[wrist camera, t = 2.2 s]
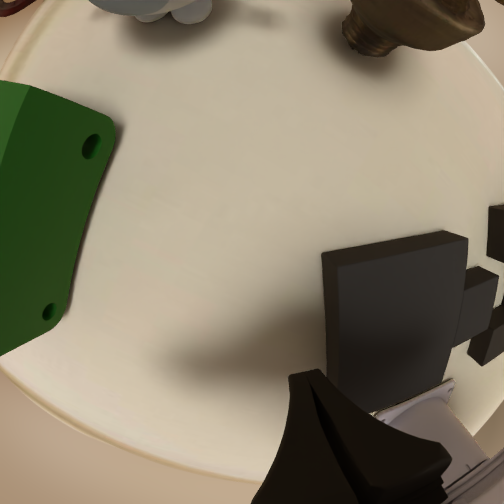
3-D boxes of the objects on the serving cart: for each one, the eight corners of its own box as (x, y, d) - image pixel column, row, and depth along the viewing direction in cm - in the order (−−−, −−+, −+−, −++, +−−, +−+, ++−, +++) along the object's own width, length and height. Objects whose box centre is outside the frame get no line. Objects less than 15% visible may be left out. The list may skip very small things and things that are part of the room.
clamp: (82, 142, 14) (13, 50, 5) (144, 172, 14) (70, 46, 5) (0, 296, 12) (-101, 274, 3) (48, 353, 11) (-77, 363, 2)
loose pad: (462, 348, 15) (477, 362, 13) (325, 400, 15) (335, 424, 13) (481, 222, 13) (504, 229, 11) (320, 252, 13) (337, 266, 10)
